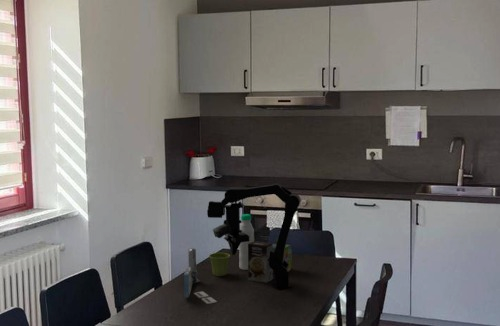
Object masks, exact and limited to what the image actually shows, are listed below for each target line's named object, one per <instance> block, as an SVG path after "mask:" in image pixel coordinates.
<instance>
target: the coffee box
mask: <svg viewBox="0 0 500 326" xmlns="http://www.w3.org/2000/svg"><path fill="white" fill-rule="evenodd" d="M273 244H274V243H273V242H265V241H256V240H254V242H251V243H249V244H248V270H247V275H248V276H247V278H248V281H251V282H252V281H253V282H259V283H266V284H267V283H269V282H270V281H272V280H273V273H272V269H271V268H270V266H269V261H268V258H269V256H270V251H271V249H272V247H273Z"/></svg>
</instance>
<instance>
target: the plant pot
mask: <svg viewBox="0 0 500 326" xmlns="http://www.w3.org/2000/svg"><path fill="white" fill-rule="evenodd" d="M230 257H231V254H229V253H225V252H213V253H210V254H209V255H208V258H209V261H210V262H211V263H210V264H211V271H212V275H213V276H215V277H222V276H227V273H228V264H229V260H230Z"/></svg>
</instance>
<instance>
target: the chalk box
mask: <svg viewBox="0 0 500 326" xmlns="http://www.w3.org/2000/svg"><path fill="white" fill-rule="evenodd" d="M278 238H279V237H277V238H276V239H275V243H273V247H272V248H273V249H275V248H276V245H277V241H278ZM292 246H293V245H291V244H286V246H285V257H284V260H285V261H286V262H287V263H288V264H289V268H288V270H287V271H288V272H290V271H292V269H293V266H292V264H293V263H292V262H293V258H292V257H293V256H292V252H293V249H292V248H293V247H292ZM272 274H274V271H273V269H272Z"/></svg>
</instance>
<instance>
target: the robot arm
mask: <svg viewBox="0 0 500 326" xmlns="http://www.w3.org/2000/svg"><path fill="white" fill-rule="evenodd" d="M269 195H275V196H276V197H277V198H278V199H279V200H281V202H283V203H284V216H283V220H282V223H281V228H280V231H279V234H278V237H277V238H278V241H277V245H276V248H275V249H273V248H272V249H271V251H270V256H269V258H268V261H269V266H270V268H271V269H273V271H274V273H273V277H274V278H273V279H274V283H271V287H273V288H275V289H277V290H283V289H290V288H292V285H290V283H289V281H290V279H289V277H290V276H289V271H287V270H288V268H289V264H288V263H287V262H286V261H285V260H284V257H285V246H286V245H287V241H288V238H289V234H290V231H291V227H292V223H293V219H294V216H295V214H296V213H297V211H298V208H299V206H300V204H301V201H302V200H301V197H300V195H299V194H298V193H294V192H291V191H290V190H289V189H287V188H286V187H284V186H282V185H281V184H280V183H278V182H277V183H273V184H268V185H260V186H253V187H240V186H239V187H238V186H235V187H234V186H232V187H230V188H229V189H227V190H226V191H225V192H224V197H223V199H222V200H220V201H214V200H211V201H209V202H208V205H207V211H206V213H207V218H208V219H209V218H211V219H212V218H213V219H215V218H216V219H222V218H223V217H224V216H225V219H224V220H223V223H222V224H220V225H218V226H216V227H215V228H213V229H212V232H213V234H214V237H216V238H217V239H221V238H223V239H224V240H225V241H226V242H227V243H228V246H229V250H230V253H231V255H232V256H235V255H236V253H237V251H238V250H239V245H240V243H241V242H247V241H249V236H248V235H247V234H245V233H242V230H240V226H241V224H242V220H241V216H240V214H241V213H240V212H241V210H240V209H243V208H244V207H245V204H243V203H242V200H245V199H247V198H248V199H249V198H256V197H261V196H269ZM237 202H238V203H237ZM229 203H230V204H229Z"/></svg>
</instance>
